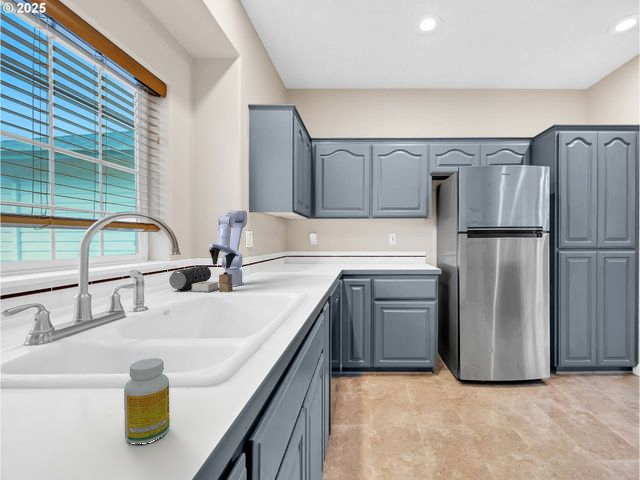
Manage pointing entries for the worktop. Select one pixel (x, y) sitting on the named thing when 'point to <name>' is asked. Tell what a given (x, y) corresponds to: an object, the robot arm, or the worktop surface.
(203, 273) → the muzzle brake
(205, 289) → the socket block
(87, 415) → the worktop surface
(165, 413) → the supplement bottle
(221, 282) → the walnut plug
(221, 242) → the robot arm
